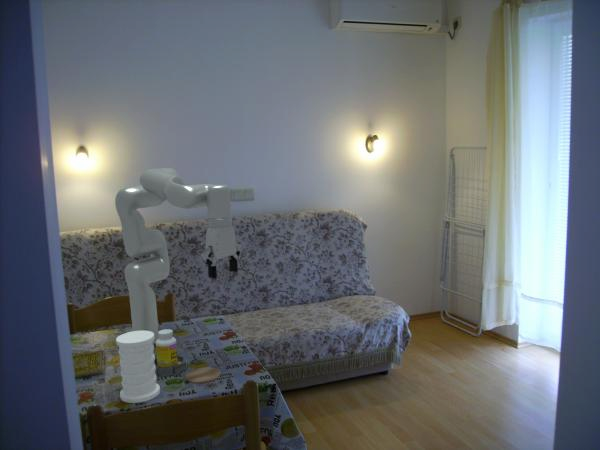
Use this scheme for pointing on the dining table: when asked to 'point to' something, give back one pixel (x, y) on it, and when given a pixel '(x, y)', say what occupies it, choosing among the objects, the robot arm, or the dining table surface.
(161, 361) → the supplement bottle
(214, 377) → the coaster
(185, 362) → the collar
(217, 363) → the dining table surface
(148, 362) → the decorative container
